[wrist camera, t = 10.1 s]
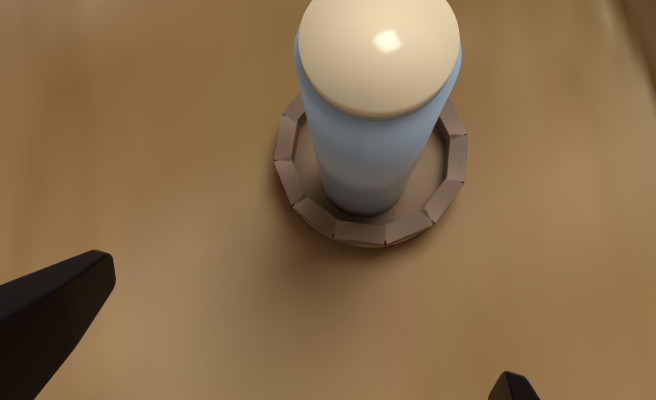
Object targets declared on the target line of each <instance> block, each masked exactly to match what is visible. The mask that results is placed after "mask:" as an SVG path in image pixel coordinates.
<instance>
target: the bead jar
mask: <svg viewBox="0 0 656 400" xmlns="http://www.w3.org/2000/svg"><path fill="white" fill-rule="evenodd" d="M461 56H462V52H461V42H460V37H459V29H458V24H457V21H456V18H455V15H454V13H453V11H452V9H451V7H450V6H449V4H448V3H447V1H446V0H312V2H311V3H310V5H309V6H308V8H307V10H306V12H305V14H304V16H303V18H302V21H301V24H300V27H299V29H298V32H297V35H296V39H295V44H294V64H295V69H296V73H297V78H298V82H299V87H300V91H301V95H302V100H303V104H304V108H305V113H306V117H307V122H308V126H309V130H310V135H311V139H312V143H313V148H314V152H315V157H316V161H317V165H318V170H319V174H320V178H321V183H322V187H323V190H324V193H325V195H326V197H327V198H328V200H329V201H330V202H331V203H332V204H333V205H334V206H335V207H336V208H337V209H338V210H340V211H341V212H343V213H345V214H348V215H350V216H354V217H360V218H367V217H374V216H378V215H380V214H383V213H384V212H386V211H388V210H389V209H391V208H392V207H393V206H394V205H395V204H396V203H397V202H398V200H399V199H400V197H401V195H402V194H403V191H404V189H405V187H406V185H407V183H408V181H409V179H410V177H411V174H412V172H413V170H414V168H415V166H416V164H417V162H418V160H419V158H420V155H421V153H422V151H423V149H424V147H425V145H426V143H427V141H428V138H429V136H430V134H431V132H432V130H433V128H434V126H435V124H436V121H437V119H438V117H439V115H440V113H441V111H442V109H443V107H444V105H445V102H446V100H447V98H448V96H449V94H450V92H451V90H452V88H453V85H454V83H455V81H456V78H457V76H458V73H459V69H460V65H461Z"/></svg>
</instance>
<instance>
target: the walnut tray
mask: <svg viewBox="0 0 656 400" xmlns="http://www.w3.org/2000/svg"><path fill="white" fill-rule="evenodd" d="M282 114H283V116H281V120H280V126H279V131H278V137H277V143H276V149H275V154H274V161H275V162H274V164H275V166H276V169H277V171H278V174H279V176H280V179H281V181H282V184H283V186H284V189H285V191H286V194H287V197H288V199H289V202H290V204H291V206H292V208H293V209H294V211H295V212H296V213H297V214H299V215H300V216H301V217H302V218H303V219H304V220H305V222H307V223H308V224H309V225H310V226H311V227H312V228H313V229H315V230H316V231H318V232H319V233H321V234H322V235H324V236H326V237H328V238H330V239H331V240H334V241H336V242H339V243H342V244H345V245H349V246H355V247H363V248H378V247H387V246H391V245H395V244H398V243H401V242H404V241H407V240H409V239H411V238H413V237H415V236H417V235H418V234H419V233H421V232H423V231H425V230H428V229H429V228H430V227H432V226H433V225H434V224H435V223H436V222H437V220H438V219H439V218H440V216H441V215H442V214H443V212H444V211H445V210H446V208H447V207H448V205H449V204H450V203H451V201H452V200H453V199H454V197H455V196H456V195H457V193H458V192H459V190H460V189H461V188H462V186H463V185H464V184H463V183H464V182H465V173H466V158H467V144H468V136H466V135H467V131H466V129H465V127H464V125H463V124H462V122H461V120H460V118H459V116H458V114H457V112H456V110H455V108H454V106H453V105H452V103H451V101H450V99H449V97H448V98H447V100H446V102H445V105H444V107H443V109H442V111H441V113H440V115H439V117H438V119H437V121H436V124H435V126H434V128H433V130H432V132H431V134H430V136H429V138H428V141H427V143H426V145H425V147H424V149H423V151H422V153H421V155H420V158H419V160H418V162H417V164H416V166H415V168H414V170H413V172H412V174H411V177H410V179H409V181H408V183H407V185H406V187H405V189H404V191H403V194H402V195H401V197H400V199H399V200H398V202H397V203H396V204H395V205H394V206H393V207H392V208H391V209H389V210H388V211H386V212H384V213H383V214H380V215H378V216H374V217H367V218H360V217H354V216H350V215H348V214H345V213H343V212H341V211H340V210H338V209H337V208H336V207H335V206H334V205H333V204H332V203H331V202H330V201H329V200H328V198H327V197H326V195H325V193H324V190H323V187H322V183H321V178H320V174H319V170H318V165H317V161H316V157H315V152H314V148H313V143H312V139H311V135H310V130H309V126H308V122H307V117H306V113H305V108H304V104H303V100H302V95H301V92H300V93H299V94H298V95H297V96H296V98H295V99H294V100H293V101H292V102H291V103H290V105H289V106H288V107H287V108H286V109H285V111H284V112H283V113H282Z"/></svg>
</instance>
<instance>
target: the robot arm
mask: <svg viewBox="0 0 656 400" xmlns="http://www.w3.org/2000/svg"><path fill="white" fill-rule="evenodd" d="M115 283H116V276H115V269H114V262H113V257H112V256H111V254H109V253H106V252H102V251H99V250H91V251H88V252H85V253H83V254H80V255H77V256H75V257H72V258H70V259H67V260H64V261H62V262H59V263H57V264H54V265H51V266H49V267H46V268H44V269H41V270H38V271H36V272H33V273H31V274H28V275H25V276H23V277H20V278H18V279H15V280H12V281H10V282H7V283H5V284H2V285H0V400H34V399H35V398H36V396H37V395H38V394H39V393H40V391H41V390H42V389H43V388H44V386H45V385H46V384H47V383H48V381H49V380H50V379H51V378H52V376H53V375H54V374H55V373H56V371H57V370H58V369H59V368H60V366H61V365H62V364H63V363H64V361H65V360H66V359H67V358H68V356H69V355H70V354H71V352H72V351H73V350H74V348H75V347H76V346H77V344H78V343H79V341H80V340H81V339H82V337H83V336H84V334H85V332H86V331H87V329H88V328H89V326H90V325H91V323H92V322H93V320H94V319H95V317H96V315H97V314H98V312H99V311H100V309H101V308H102V306H103V305H104V303H105V301H106V300H107V298H108V297H109V295H110V294H111V292H112V290H113V289H114V286H115ZM488 400H540V398H539V397H538V395H537V394H536V392H535V391H534V389H533V388H532V386H531V384H530V383H529V381H528V380H527V379H526V378H525V377H524V376H522V375H519V374H516V373H513V372H509V371H504V372H503V373H502V374H501V375H500V377H499V379H498V380H497V382H496V384H495V385H494V387H493V389H492V390H491V392H490V394H489V397H488Z"/></svg>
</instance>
